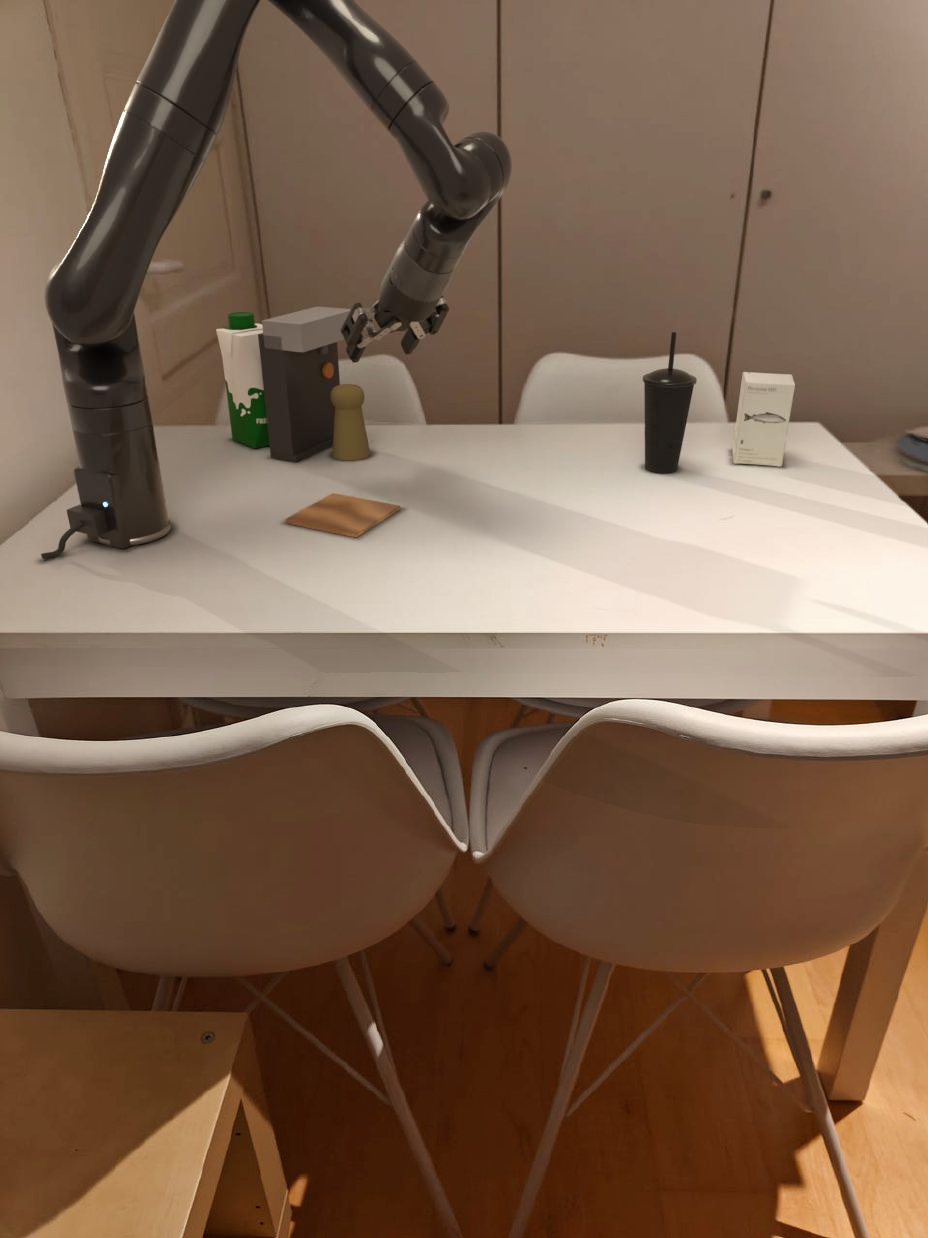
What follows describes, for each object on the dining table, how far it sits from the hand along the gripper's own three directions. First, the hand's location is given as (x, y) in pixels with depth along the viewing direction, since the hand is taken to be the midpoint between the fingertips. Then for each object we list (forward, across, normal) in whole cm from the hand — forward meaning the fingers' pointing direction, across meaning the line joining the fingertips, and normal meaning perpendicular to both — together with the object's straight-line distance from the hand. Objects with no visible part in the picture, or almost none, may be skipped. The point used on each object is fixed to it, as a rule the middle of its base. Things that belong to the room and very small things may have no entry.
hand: (379, 352), depth 131 cm
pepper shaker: (+21, 0, +5) cm, 21 cm away
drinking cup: (-2, -35, +28) cm, 45 cm away
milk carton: (+32, +8, -7) cm, 33 cm away
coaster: (+4, +13, +21) cm, 25 cm away
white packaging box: (-6, -51, +32) cm, 60 cm away
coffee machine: (+25, +3, 0) cm, 25 cm away
